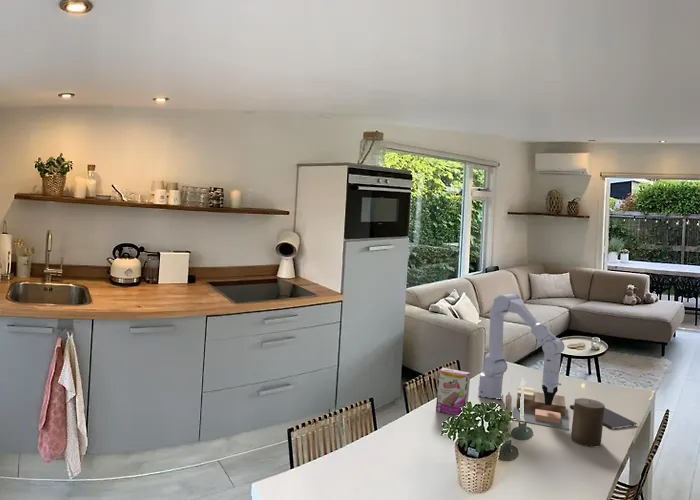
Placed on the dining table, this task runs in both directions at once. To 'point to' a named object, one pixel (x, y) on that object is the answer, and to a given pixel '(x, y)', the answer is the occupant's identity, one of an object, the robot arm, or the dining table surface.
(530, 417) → the mat
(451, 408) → the candy bar box
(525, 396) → the cream flat block
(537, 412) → the peach rectangular block
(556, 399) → the tan flat block
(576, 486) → the dining table surface
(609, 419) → the notebook
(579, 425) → the pillar candle
